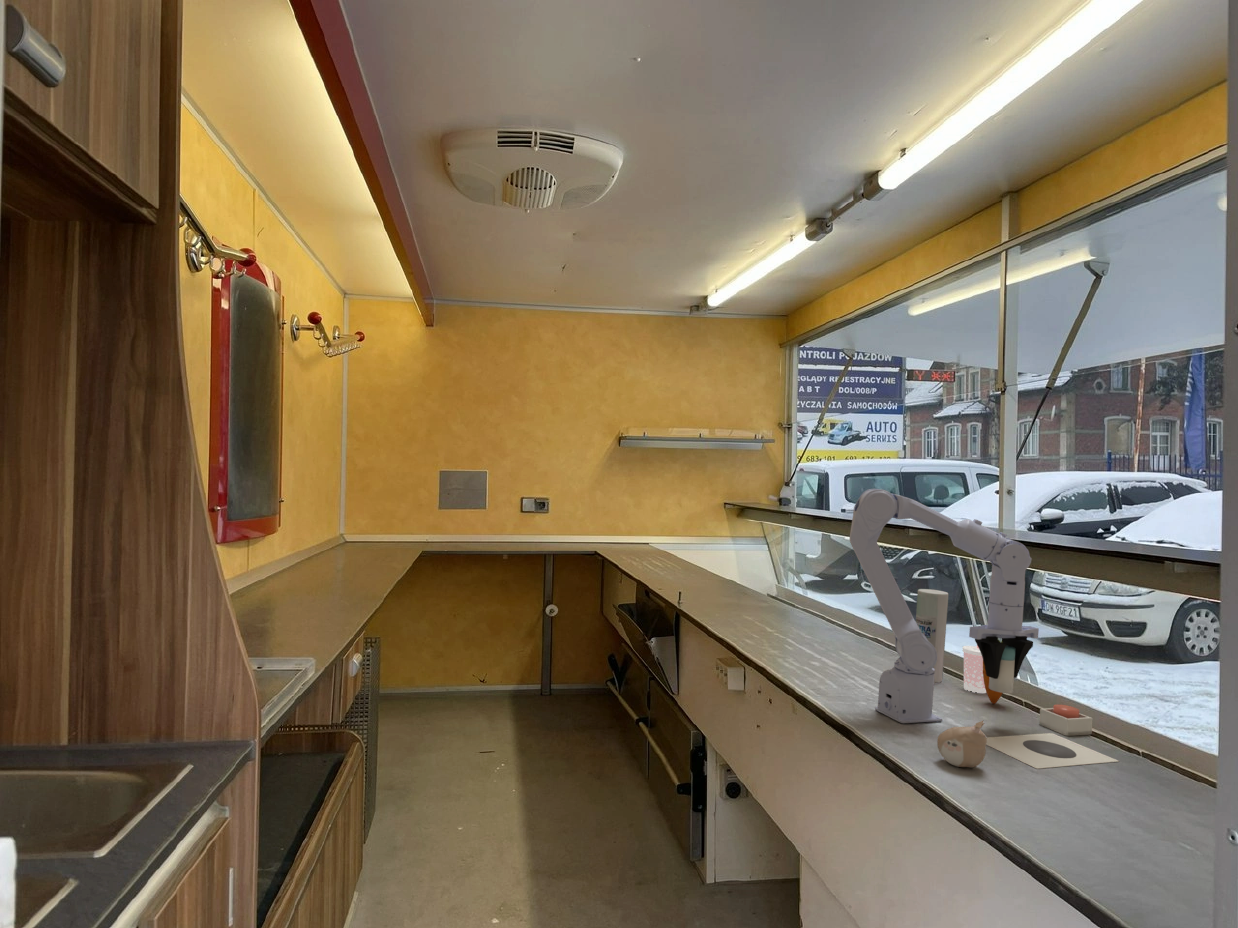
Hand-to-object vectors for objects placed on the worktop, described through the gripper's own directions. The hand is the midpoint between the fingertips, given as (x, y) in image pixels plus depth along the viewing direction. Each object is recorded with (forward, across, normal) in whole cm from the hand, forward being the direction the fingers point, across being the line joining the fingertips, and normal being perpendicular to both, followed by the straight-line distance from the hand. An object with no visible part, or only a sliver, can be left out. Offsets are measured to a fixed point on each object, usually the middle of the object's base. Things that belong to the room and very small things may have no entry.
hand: (1001, 676), depth 139 cm
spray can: (+10, +10, +30) cm, 33 cm away
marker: (+2, 0, 0) cm, 2 cm away
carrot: (+10, +11, +12) cm, 19 cm away
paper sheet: (+9, -1, -11) cm, 15 cm away
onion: (+10, -22, -14) cm, 28 cm away
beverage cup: (+10, +15, +21) cm, 28 cm away
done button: (+7, +13, -3) cm, 15 cm away
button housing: (+9, +13, -3) cm, 16 cm away
